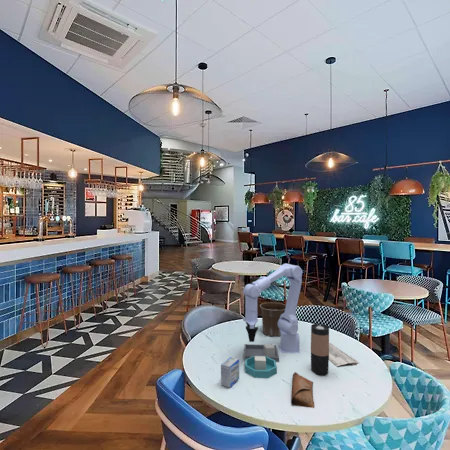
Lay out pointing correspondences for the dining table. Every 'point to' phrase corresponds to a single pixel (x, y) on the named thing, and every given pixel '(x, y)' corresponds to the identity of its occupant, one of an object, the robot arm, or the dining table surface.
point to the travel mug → (319, 349)
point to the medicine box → (230, 372)
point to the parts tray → (258, 351)
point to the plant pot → (271, 318)
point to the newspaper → (339, 356)
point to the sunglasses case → (302, 391)
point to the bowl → (270, 370)
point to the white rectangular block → (260, 363)
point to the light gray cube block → (269, 350)
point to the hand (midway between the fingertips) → (251, 338)
